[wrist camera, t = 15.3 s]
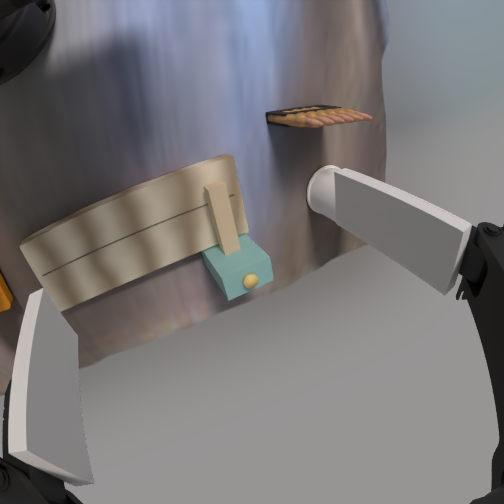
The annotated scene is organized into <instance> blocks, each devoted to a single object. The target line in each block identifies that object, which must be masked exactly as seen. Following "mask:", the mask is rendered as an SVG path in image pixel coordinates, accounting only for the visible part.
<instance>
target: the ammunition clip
mask: <svg viewBox="0 0 504 504" xmlns="http://www.w3.org/2000/svg"><path fill="white" fill-rule="evenodd" d="M266 118H267V124H272V125H279V126H285V127H289V126H296V127H311V128H318V127H322V126H330V125H334V124H343V123H351V122H360V121H368V120H372V119H373V118H372V117H371V116H369V115H367V114H364V113H360V112H356V111H353V110H350V109H343V108H341V107H336V106H328V105H314V106H306V107H298V108H291V109H284V110H277V111H271V112H266Z"/></svg>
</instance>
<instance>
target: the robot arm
mask: <svg viewBox="0 0 504 504" xmlns="http://www.w3.org/2000/svg"><path fill="white" fill-rule="evenodd" d="M55 15H56V7H55V2H54V0H0V84H2V83H4V82H6V81H8V80H10V79H12V78H13V77H15V76H16V75H17V74H19V73H20V72H21V71H23V70H24V69H25V68H26V67H27V66H28V65H29V64H30V63H31V62H32V61H33V60H34V58H35V57H36V56H37V55H38V54H39V52H40V51H41V49H42V48H43V46H44V45H45V43H46V41H47V39H48V37H49V35H50V33H51V31H52V28H53V25H54V21H55ZM334 180H335V205H336V224H337V225H339V226H340V227H342V228H344V229H345V230H347V231H348V232H350V233H352V234H353V235H355V236H357V237H358V238H360V239H361V240H363V241H365V242H366V243H368V244H369V245H371V246H372V247H374V248H376V249H377V250H379V251H380V252H382V253H383V254H385V255H386V256H388V257H390V258H391V259H393V260H394V261H396V262H397V263H399V264H400V265H402V266H403V267H405V268H406V269H408V270H409V271H411V272H412V273H414V274H415V275H416V276H418V277H419V278H421V279H422V280H424V281H425V282H426V283H428V284H429V285H431V286H432V287H434V288H435V289H436V290H438V291H439V292H441V293H442V294H443V295H446V294H447V293H448V292H449V291H450V290H451V289H452V288H453V287H454V285H455V282H456V279H457V276H458V273H459V274H461V275H462V276H463V277H462V280H461V283H460V286H459V289H458V291H457V294H456V300H459V297H460V295H461V292H463V291H464V293H463V295H462V300H465V299H467V300H468V303H469V306H470V308H471V311H472V314H473V317H474V320H475V323H476V326H477V329H478V333H479V336H480V339H481V343H482V346H483V350H484V354H485V358H486V361H487V366H488V370H489V374H490V378H491V383H492V388H493V394H494V399H495V405H496V412H497V419H498V428H499V438H500V439H499V444H498V447H497V448H496V450H495V452H494V455H493V459H492V489H491V492H490V493H488V494H487V495H486V496H484V497H482V498H478V499H475V500H473V501H472V502H471V503H470V504H504V226H503V227H498V226H496V225H494V224H491V223H487V222H483V223H479V224H478V227H474V226H472V224H470V223H468V222H467V221H464V220H463V219H461V218H459V217H457V216H455V215H453V214H451V213H449V212H447V211H445V210H443V209H441V208H439V207H437V206H435V205H433V204H431V203H429V202H427V201H425V200H422V199H420V198H418V197H416V196H414V195H411V194H409V193H407V192H405V191H402V190H400V189H398V188H395V187H393V186H391V185H388V184H386V183H383V182H381V181H378V180H376V179H373V178H371V177H368V176H366V175H363V174H361V173H358V172H355V171H353V170H350V169H347V168H345V169H342V170H338V171H335V172H334ZM4 407H5V409H4V414H3V418H4V420H3V459H2V458H1V457H0V504H83V503H82V502H81V501H80V500H78V498H77V497H75V496H74V495H73V494H72V493H71V492H70V491H68V490H66V489H65V487H64V482H67V483H69V484H72V485H74V486H81V485H88V484H93V483H94V479H93V475H92V471H91V466H90V461H89V456H88V451H87V446H86V439H85V433H84V425H83V418H82V409H81V399H80V387H79V366H78V335H77V334H76V333H75V331H74V330H73V329H72V327H71V326H70V325H69V324H68V322H67V321H66V319H65V318H64V317H63V315H62V314H61V313H60V311H59V310H58V308H57V307H56V306H55V304H54V303H53V301H52V300H51V298H50V297H49V295H48V294H47V292H46V291H45V289H44V288H42V289H40V290H38V291H36V292H34V293H32V294H30V296H29V299H28V303H27V306H26V310H25V314H24V318H23V322H22V326H21V331H20V335H19V340H18V345H17V350H16V356H15V362H14V368H13V376H12V380H10V382H9V384H8V387H7V390H6V392H5V400H4Z"/></svg>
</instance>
